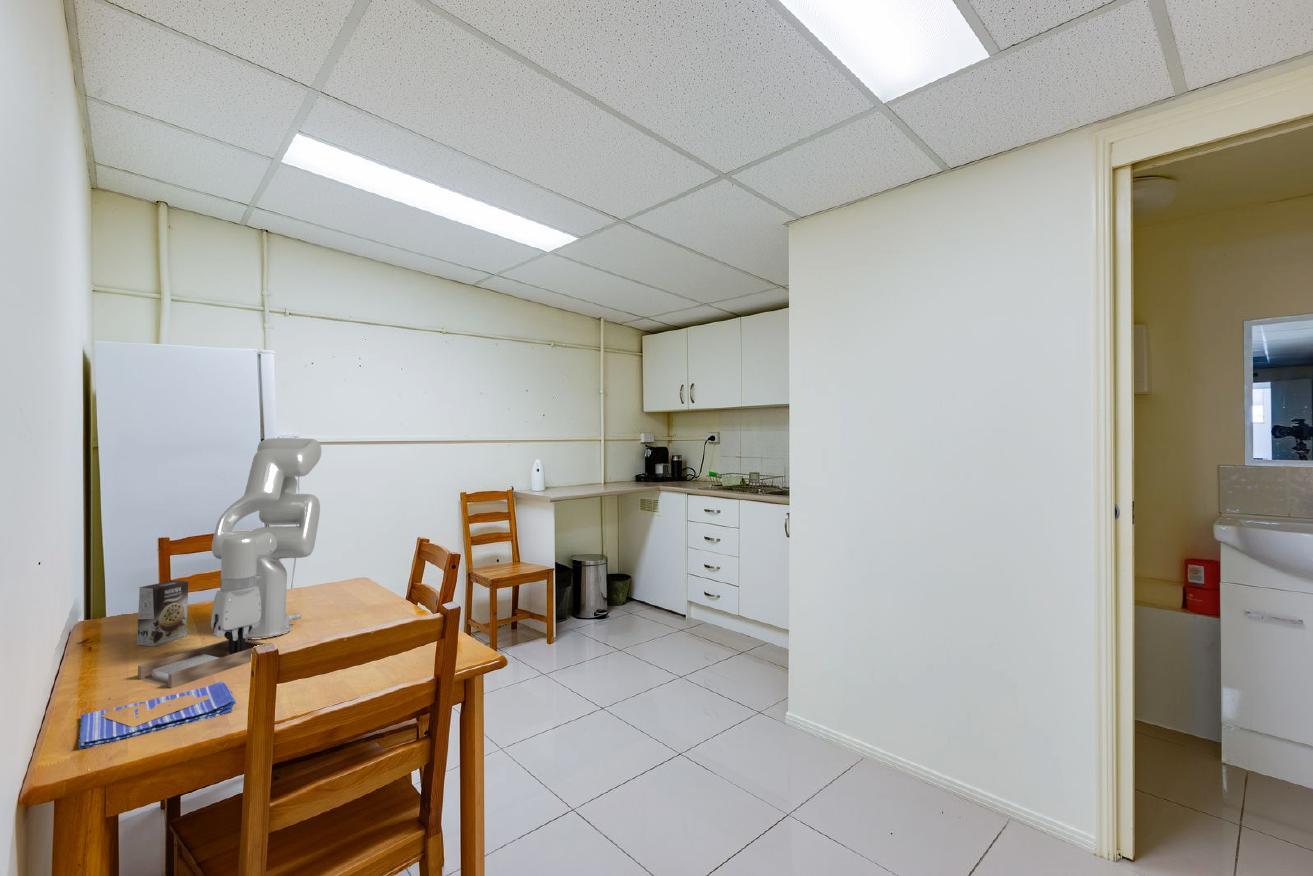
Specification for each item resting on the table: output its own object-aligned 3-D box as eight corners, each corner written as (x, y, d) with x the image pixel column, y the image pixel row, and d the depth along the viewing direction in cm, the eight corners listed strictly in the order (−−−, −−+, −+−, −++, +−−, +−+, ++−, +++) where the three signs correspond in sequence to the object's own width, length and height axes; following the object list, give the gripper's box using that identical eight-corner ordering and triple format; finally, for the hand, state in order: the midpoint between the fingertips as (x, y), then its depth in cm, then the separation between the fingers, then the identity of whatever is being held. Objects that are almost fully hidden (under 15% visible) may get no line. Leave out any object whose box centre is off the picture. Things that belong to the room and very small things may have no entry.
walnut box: (236, 651, 154) (237, 637, 154) (268, 658, 149) (269, 644, 149) (137, 682, 133) (138, 665, 133) (171, 691, 128) (171, 674, 128)
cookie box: (154, 647, 156) (156, 588, 156) (135, 645, 157) (137, 586, 157) (187, 636, 165) (189, 580, 165) (170, 634, 166) (171, 579, 166)
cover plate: (203, 662, 144) (203, 654, 144) (223, 667, 141) (223, 658, 141) (151, 678, 134) (151, 669, 134) (172, 683, 131) (172, 675, 131)
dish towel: (237, 713, 120) (237, 700, 120) (76, 755, 103) (77, 739, 103) (225, 688, 132) (225, 676, 132) (80, 721, 115) (80, 707, 115)
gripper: (258, 576, 156) (256, 643, 156) (197, 588, 142) (195, 661, 142) (276, 579, 153) (274, 647, 153) (216, 591, 139) (214, 666, 139)
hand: (236, 654), depth 147 cm, fingers closed
